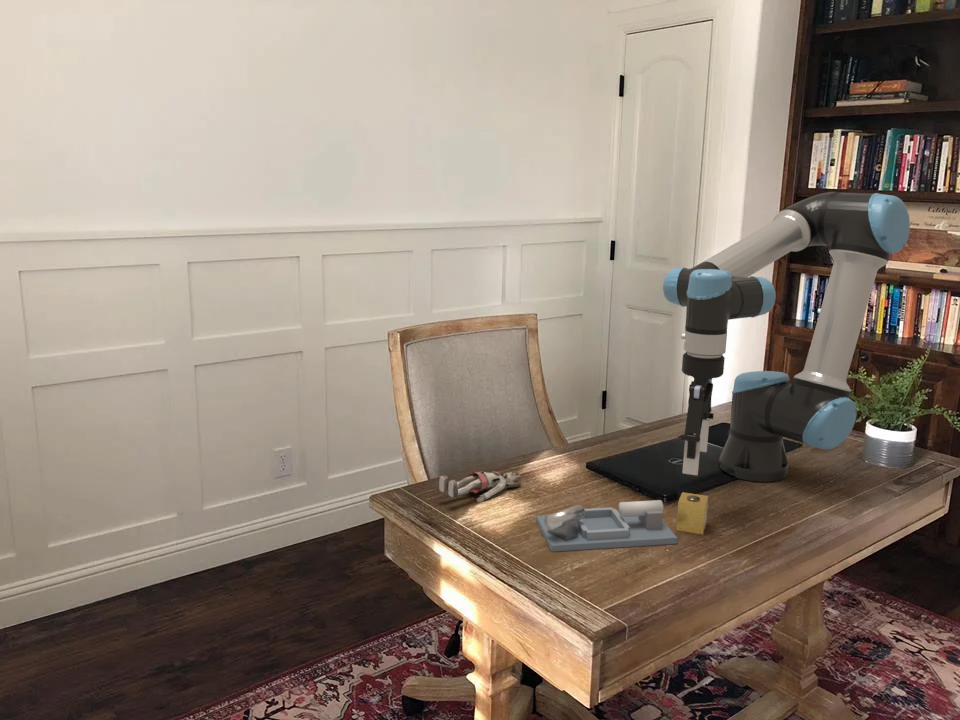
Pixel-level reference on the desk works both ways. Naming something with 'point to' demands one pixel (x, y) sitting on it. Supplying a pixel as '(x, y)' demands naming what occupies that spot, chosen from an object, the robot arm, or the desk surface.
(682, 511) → the coupler
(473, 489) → the figurine
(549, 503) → the desk surface
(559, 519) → the grey stone
